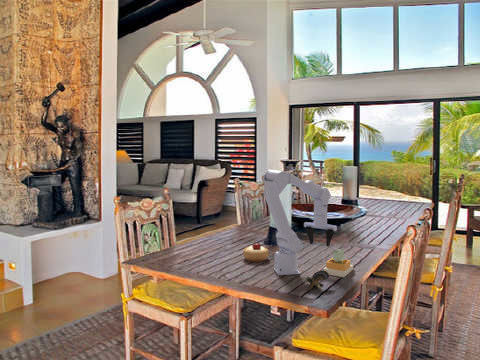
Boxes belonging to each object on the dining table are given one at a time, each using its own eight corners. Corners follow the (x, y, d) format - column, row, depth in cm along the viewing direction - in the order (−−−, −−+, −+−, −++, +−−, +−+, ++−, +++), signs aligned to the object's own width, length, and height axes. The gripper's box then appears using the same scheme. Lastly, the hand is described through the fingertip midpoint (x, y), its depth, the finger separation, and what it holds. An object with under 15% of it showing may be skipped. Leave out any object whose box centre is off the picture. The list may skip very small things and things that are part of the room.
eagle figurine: (324, 291, 146) (333, 279, 153) (313, 274, 147) (323, 263, 154) (308, 297, 151) (318, 286, 158) (298, 280, 151) (308, 270, 158)
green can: (335, 268, 168) (335, 252, 167) (331, 265, 172) (331, 249, 172) (345, 268, 169) (345, 251, 168) (341, 264, 173) (341, 249, 172)
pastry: (266, 265, 181) (267, 245, 180) (240, 262, 184) (241, 243, 182) (270, 256, 193) (270, 238, 192) (245, 254, 195) (246, 236, 194)
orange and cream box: (343, 277, 164) (344, 266, 163) (322, 273, 168) (323, 262, 168) (353, 269, 174) (353, 259, 173) (332, 265, 178) (333, 255, 178)
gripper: (339, 214, 176) (338, 245, 177) (308, 211, 184) (308, 240, 185) (333, 217, 170) (333, 248, 171) (302, 213, 178) (301, 243, 179)
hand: (319, 244), depth 178 cm, fingers open, 7 cm apart
